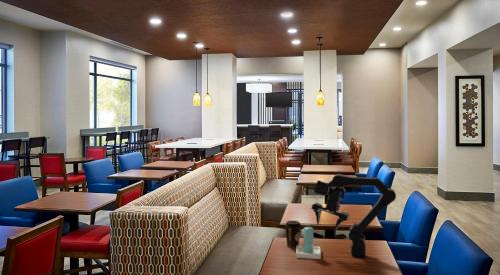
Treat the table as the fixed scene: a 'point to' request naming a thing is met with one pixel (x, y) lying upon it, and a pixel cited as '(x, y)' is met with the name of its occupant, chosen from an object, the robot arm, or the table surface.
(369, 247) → the table surface
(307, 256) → the tray
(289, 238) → the coffee cup
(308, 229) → the teal cylinder
